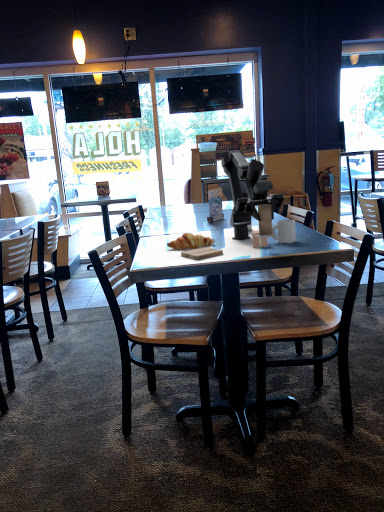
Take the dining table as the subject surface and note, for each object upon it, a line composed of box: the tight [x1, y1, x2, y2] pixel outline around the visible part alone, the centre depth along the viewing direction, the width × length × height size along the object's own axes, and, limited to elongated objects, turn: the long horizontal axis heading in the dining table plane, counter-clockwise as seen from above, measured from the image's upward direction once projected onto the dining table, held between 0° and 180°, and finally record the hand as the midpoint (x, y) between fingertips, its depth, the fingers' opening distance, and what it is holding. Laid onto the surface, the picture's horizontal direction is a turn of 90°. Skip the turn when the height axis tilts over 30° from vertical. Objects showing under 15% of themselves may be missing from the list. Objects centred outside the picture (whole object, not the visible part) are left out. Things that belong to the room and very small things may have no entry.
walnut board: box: [180, 246, 224, 261], centre depth 164 cm, size 12×12×2 cm
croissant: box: [166, 232, 216, 251], centre depth 182 cm, size 21×10×8 cm, turn 96°
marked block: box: [251, 229, 269, 248], centre depth 171 cm, size 6×6×6 cm
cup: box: [272, 219, 297, 244], centre depth 173 cm, size 7×10×9 cm
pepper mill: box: [257, 204, 273, 239], centre depth 157 cm, size 5×5×12 cm
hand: (266, 219), depth 156 cm, fingers closed on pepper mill, 5 cm apart
